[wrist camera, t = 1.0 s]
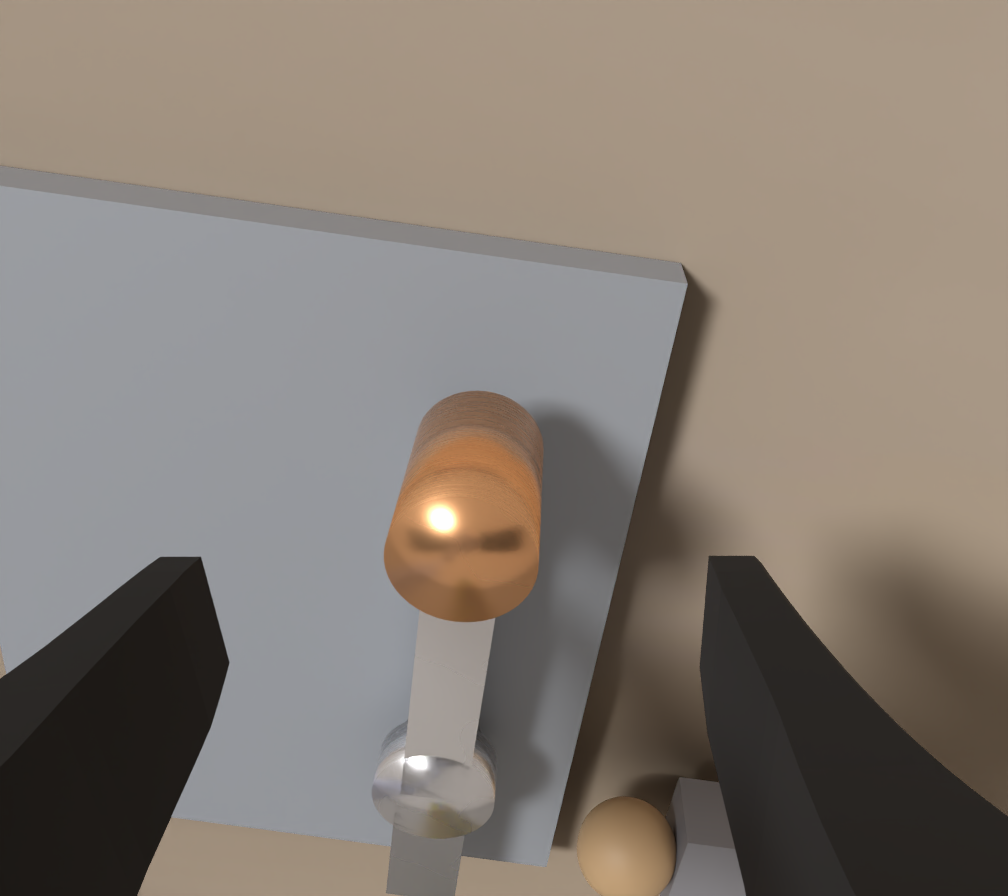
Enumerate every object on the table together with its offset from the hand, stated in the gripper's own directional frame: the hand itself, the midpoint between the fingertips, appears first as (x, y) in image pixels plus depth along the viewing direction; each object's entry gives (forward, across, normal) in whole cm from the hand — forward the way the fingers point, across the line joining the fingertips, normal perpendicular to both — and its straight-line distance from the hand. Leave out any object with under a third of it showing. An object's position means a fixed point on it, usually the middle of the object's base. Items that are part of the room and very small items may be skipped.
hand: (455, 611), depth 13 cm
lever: (+6, +1, +6) cm, 9 cm away
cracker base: (+8, +2, +6) cm, 10 cm away
